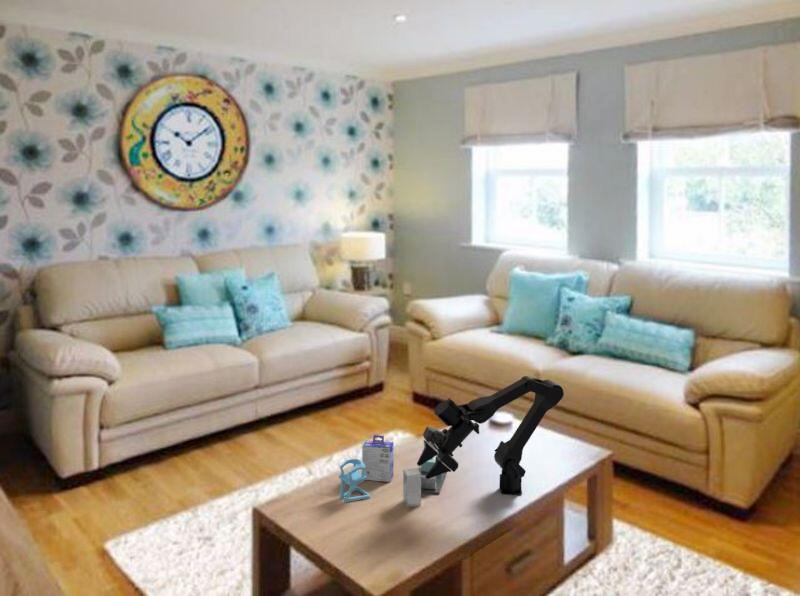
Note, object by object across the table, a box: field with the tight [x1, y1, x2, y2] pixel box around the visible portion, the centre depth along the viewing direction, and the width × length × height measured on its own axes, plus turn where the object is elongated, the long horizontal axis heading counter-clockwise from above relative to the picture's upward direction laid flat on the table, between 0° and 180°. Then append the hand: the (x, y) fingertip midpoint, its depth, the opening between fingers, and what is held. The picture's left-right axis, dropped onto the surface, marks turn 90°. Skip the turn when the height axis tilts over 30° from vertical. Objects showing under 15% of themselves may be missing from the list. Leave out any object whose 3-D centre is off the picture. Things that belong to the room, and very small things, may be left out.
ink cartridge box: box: [361, 434, 395, 483], centre depth 218 cm, size 10×6×14 cm, turn 79°
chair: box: [338, 458, 371, 503], centre depth 206 cm, size 8×8×12 cm
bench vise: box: [417, 466, 448, 495], centre depth 216 cm, size 16×10×5 cm, turn 167°
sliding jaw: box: [420, 450, 439, 472], centre depth 226 cm, size 11×7×4 cm, turn 167°
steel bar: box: [402, 467, 422, 509], centre depth 202 cm, size 4×4×10 cm
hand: (421, 471), depth 201 cm, fingers open, 9 cm apart
